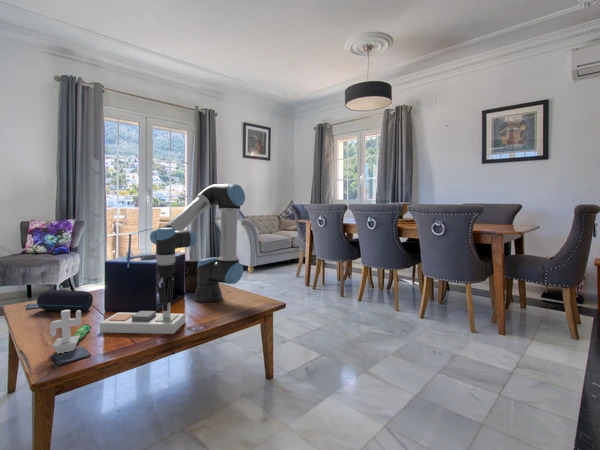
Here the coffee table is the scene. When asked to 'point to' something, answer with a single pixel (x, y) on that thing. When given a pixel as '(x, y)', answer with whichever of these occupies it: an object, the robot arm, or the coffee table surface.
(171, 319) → the sage key
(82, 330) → the candy
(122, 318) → the terracotta key
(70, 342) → the figurine
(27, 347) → the coffee table surface
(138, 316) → the charcoal key
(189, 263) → the owl
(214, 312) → the coffee table surface
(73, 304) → the portable speaker
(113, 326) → the keypad
